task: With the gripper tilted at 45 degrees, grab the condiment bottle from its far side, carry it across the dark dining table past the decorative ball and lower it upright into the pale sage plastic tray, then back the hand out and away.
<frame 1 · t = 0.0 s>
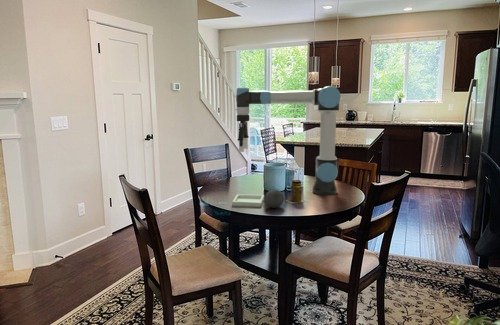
hand: (243, 150, 210), 28 cm above the table, tool pointing down, fingers open, 13 cm apart
decorative ball: (274, 207, 190), on the table
condiment: (294, 201, 202), on the table
sage tray: (248, 202, 200), on the table
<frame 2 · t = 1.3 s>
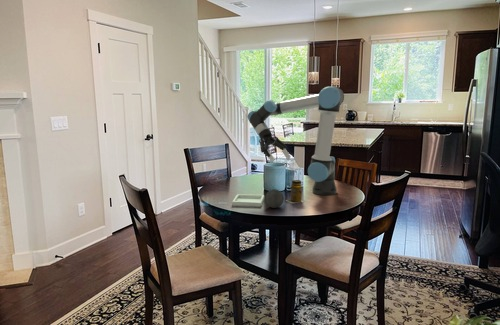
hand: (281, 159, 206), 23 cm above the table, tool tilted 45°, fingers open, 13 cm apart
nothing on the table moved.
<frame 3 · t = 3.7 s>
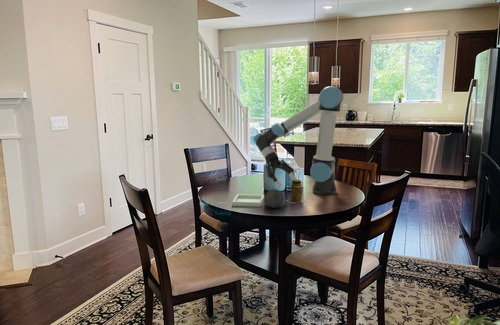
hand: (288, 184, 204), 9 cm above the table, tool tilted 45°, fingers open, 13 cm apart
nothing on the table moved.
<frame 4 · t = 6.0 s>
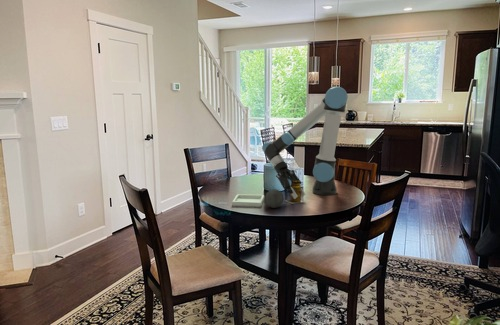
hand: (300, 196, 199), 3 cm above the table, tool tilted 45°, fingers closed on condiment, 6 cm apart
condiment: (294, 201, 202), on the table, touching gripper
everything else where it was.
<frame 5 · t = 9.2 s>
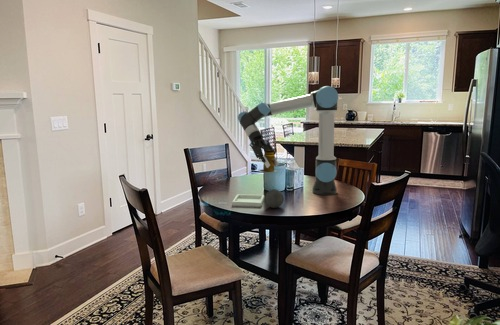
hand: (272, 165, 196), 21 cm above the table, tool tilted 45°, fingers closed on condiment, 6 cm apart
condiment: (267, 171, 199), point 18 cm above the table, touching gripper
everything else where it was.
when the fingers open (6 cm above the table, at t = 12.7 s): condiment drops 2 cm, resting on sage tray.
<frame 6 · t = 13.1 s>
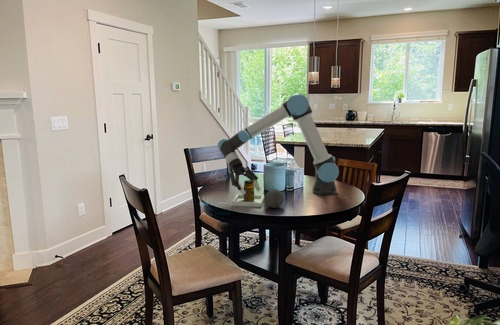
hand: (251, 192, 197), 6 cm above the table, tool tilted 45°, fingers open, 11 cm apart
condiment: (247, 202, 200), resting on sage tray
everything else where it was.
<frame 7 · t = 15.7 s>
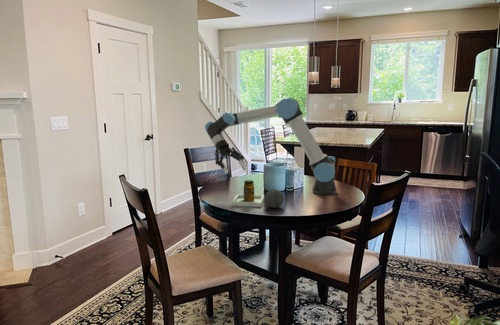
hand: (236, 171, 205), 17 cm above the table, tool tilted 45°, fingers open, 13 cm apart
nothing on the table moved.
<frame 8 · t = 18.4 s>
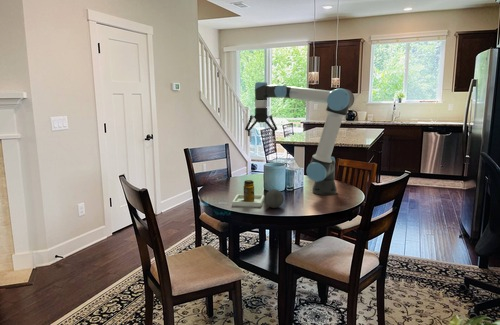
hand: (261, 141, 221), 32 cm above the table, tool pointing down, fingers open, 13 cm apart
nothing on the table moved.
at the end: condiment inside the target area on the sage tray (0.8 cm from its centre), point 0.4 cm above the sage tray's base; condiment tilted 0°; the gripper is holding nothing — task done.
